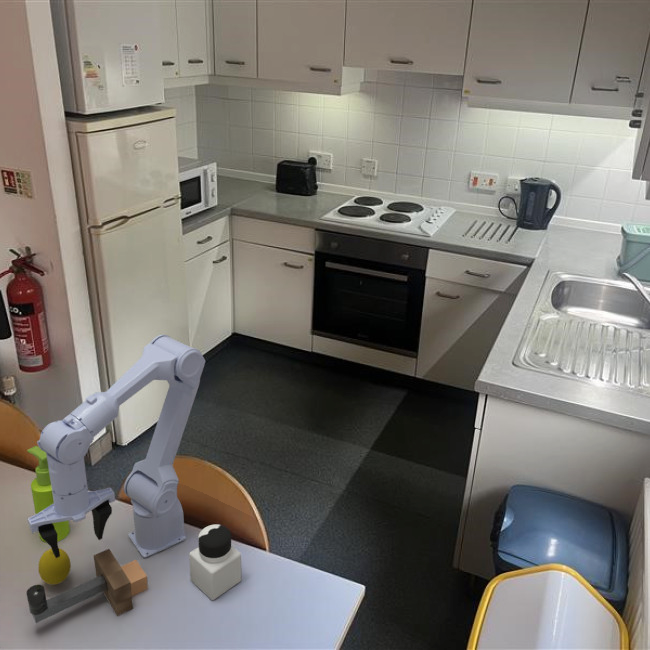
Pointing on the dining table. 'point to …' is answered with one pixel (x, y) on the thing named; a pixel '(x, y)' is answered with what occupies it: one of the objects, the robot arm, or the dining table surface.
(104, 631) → the dining table surface
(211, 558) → the medicine bottle
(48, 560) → the lemon
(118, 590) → the bracket
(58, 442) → the robot arm
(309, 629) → the dining table surface
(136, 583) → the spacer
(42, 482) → the soap dispenser
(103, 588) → the shaft
